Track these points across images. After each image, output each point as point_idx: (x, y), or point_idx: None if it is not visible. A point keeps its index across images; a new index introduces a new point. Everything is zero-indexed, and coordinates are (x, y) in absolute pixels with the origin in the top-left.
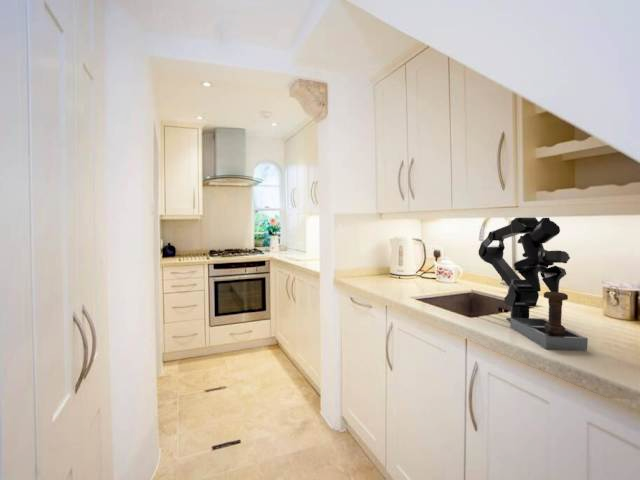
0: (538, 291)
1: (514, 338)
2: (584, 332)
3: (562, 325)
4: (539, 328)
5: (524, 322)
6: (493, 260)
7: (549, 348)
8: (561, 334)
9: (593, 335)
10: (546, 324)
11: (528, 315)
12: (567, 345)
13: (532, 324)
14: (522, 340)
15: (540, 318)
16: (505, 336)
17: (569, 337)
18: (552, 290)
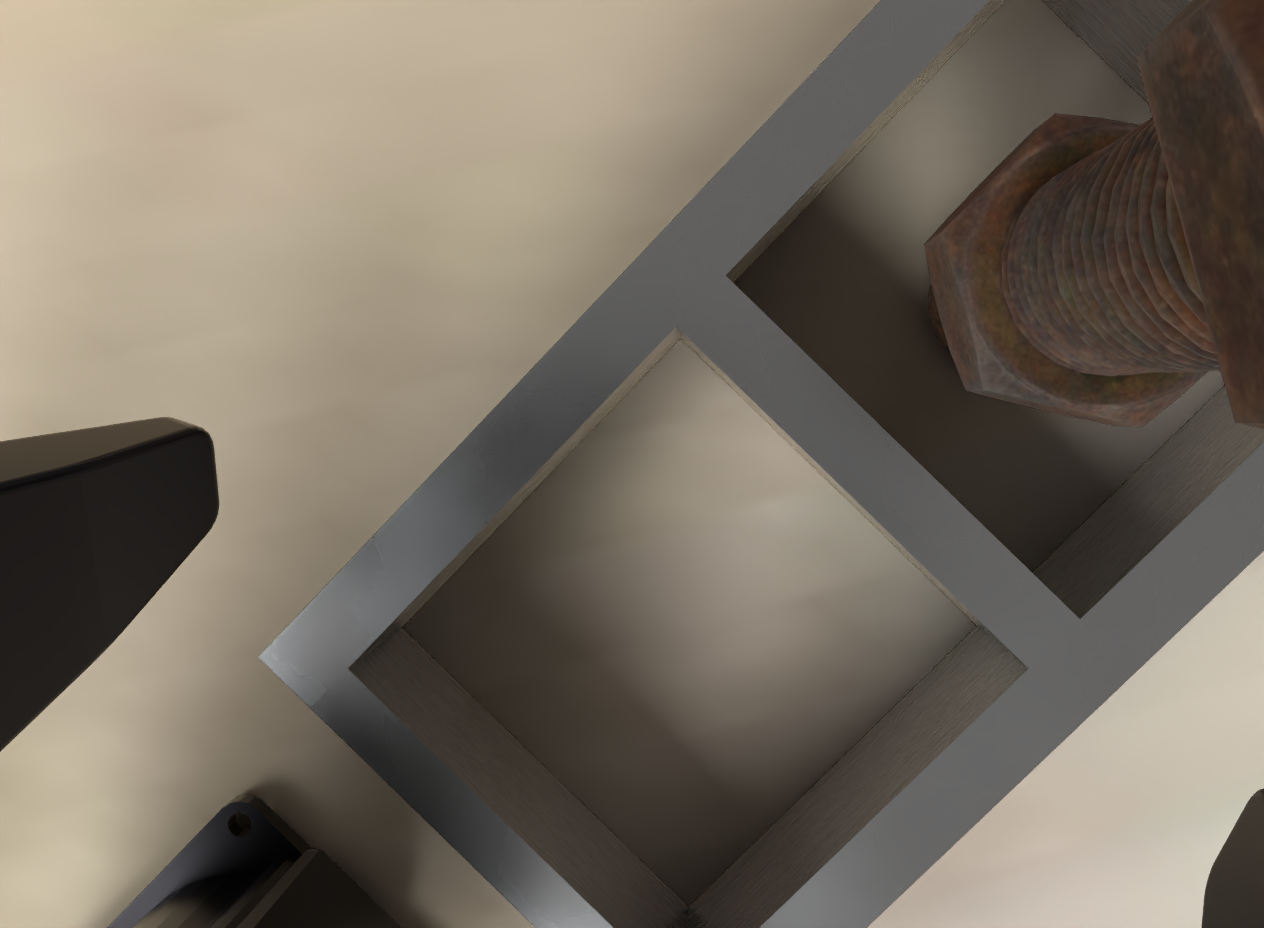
0: (1237, 846)
1: (1242, 750)
2: (35, 156)
3: (1028, 158)
4: (980, 529)
5: (584, 860)
6: None
7: None
8: (738, 270)
9: (101, 28)
10: (1184, 385)
11: (275, 917)
12: None
13: (492, 754)
14: (1248, 640)
15: (315, 705)
16: None
17: None
18: (48, 635)
